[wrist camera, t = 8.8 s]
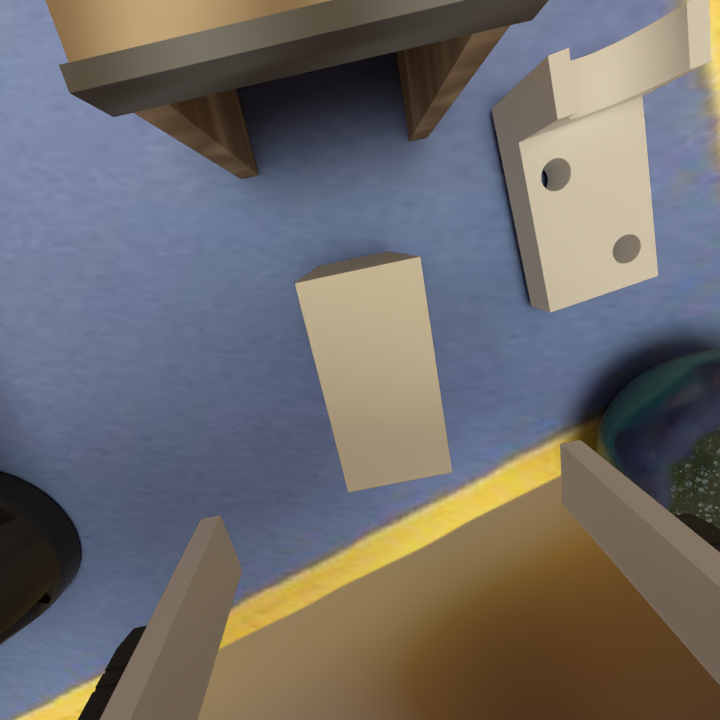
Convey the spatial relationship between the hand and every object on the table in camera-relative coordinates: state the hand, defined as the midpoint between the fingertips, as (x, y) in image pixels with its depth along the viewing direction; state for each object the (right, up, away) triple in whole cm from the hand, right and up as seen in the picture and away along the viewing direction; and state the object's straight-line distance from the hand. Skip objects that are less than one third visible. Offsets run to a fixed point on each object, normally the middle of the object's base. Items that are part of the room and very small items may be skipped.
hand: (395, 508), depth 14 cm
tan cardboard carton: (-1, +8, +13) cm, 16 cm away
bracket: (+12, +17, +11) cm, 24 cm away
